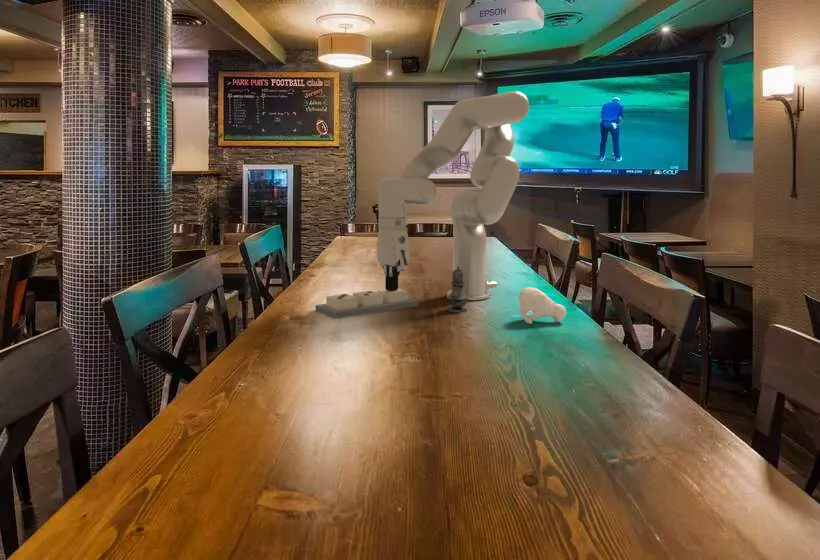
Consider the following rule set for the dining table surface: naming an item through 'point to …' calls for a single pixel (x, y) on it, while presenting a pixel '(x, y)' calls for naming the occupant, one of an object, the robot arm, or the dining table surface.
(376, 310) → the board
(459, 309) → the grey turned candlestick
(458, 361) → the dining table surface
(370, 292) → the tile two
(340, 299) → the tile three
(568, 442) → the dining table surface
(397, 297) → the tile one
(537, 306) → the cream animal figurine
